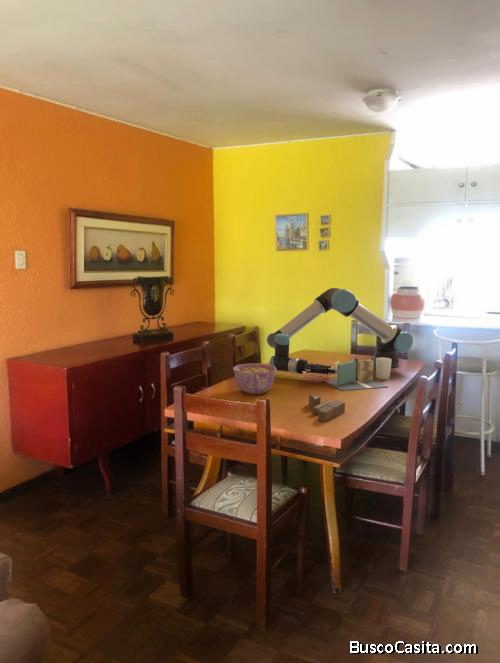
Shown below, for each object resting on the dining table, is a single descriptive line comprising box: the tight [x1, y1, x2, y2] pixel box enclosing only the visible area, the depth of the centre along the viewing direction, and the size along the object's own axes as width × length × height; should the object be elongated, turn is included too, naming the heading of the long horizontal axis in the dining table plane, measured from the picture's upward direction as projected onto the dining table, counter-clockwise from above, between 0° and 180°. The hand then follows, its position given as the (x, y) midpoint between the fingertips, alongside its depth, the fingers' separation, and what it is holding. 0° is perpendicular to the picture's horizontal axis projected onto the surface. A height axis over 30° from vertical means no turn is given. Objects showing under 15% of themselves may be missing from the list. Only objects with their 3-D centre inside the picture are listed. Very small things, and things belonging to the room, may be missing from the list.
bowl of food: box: [232, 363, 277, 395], centre depth 241 cm, size 20×20×12 cm
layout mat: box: [327, 377, 389, 392], centre depth 258 cm, size 25×20×1 cm
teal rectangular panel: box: [336, 360, 356, 385], centre depth 256 cm, size 13×2×10 cm, turn 133°
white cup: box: [375, 357, 392, 380], centre depth 271 cm, size 8×8×10 cm
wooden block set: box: [308, 394, 346, 423], centre depth 211 cm, size 17×6×18 cm
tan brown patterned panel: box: [354, 356, 376, 381], centre depth 263 cm, size 11×2×12 cm, turn 107°
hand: (342, 372), depth 256 cm, fingers closed
